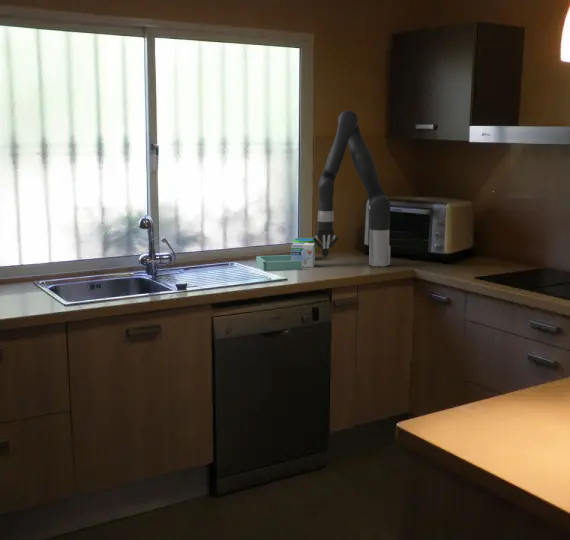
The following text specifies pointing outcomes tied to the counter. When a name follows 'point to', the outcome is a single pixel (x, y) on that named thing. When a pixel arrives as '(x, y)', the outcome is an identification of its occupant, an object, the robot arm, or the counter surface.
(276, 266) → the corral
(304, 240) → the snack cup
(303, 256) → the light bulb box
